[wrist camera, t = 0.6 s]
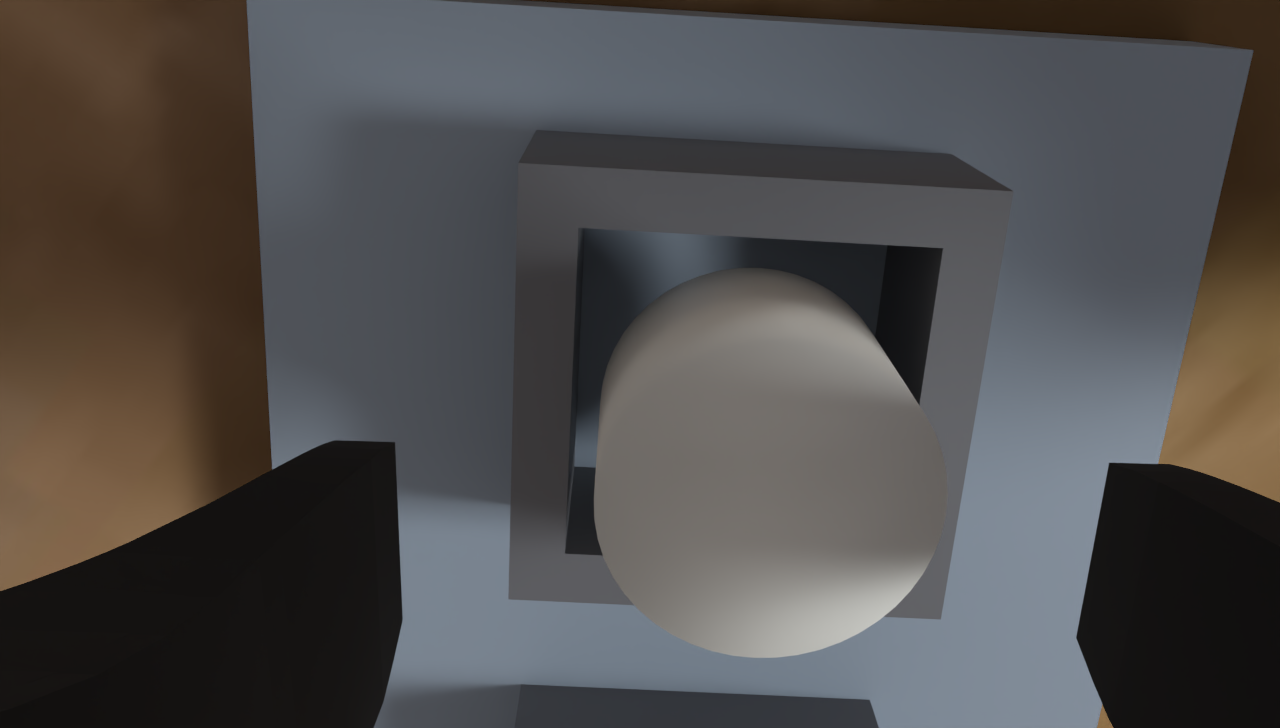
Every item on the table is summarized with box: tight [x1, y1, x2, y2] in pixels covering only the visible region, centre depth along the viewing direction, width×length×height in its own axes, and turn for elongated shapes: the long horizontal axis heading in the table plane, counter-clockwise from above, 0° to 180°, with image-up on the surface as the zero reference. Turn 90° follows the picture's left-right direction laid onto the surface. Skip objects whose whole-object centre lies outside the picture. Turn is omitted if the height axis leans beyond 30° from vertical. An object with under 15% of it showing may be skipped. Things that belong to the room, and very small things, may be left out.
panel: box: [247, 0, 1254, 728], centre depth 20 cm, size 15×20×5 cm
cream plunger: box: [594, 268, 948, 658], centre depth 14 cm, size 4×4×3 cm
